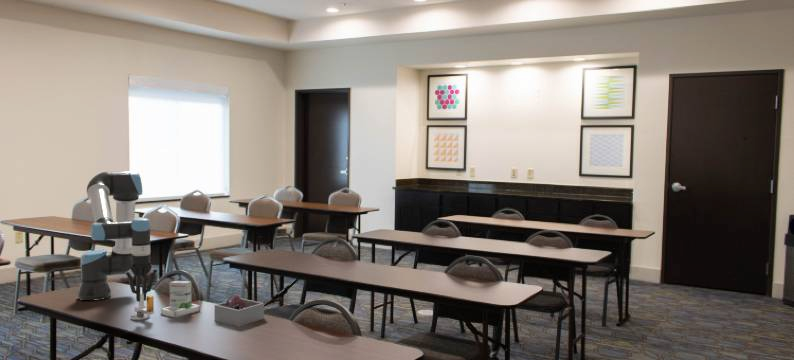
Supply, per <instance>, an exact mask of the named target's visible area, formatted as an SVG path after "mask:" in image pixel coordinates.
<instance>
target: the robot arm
mask: <svg viewBox="0 0 794 360" xmlns="http://www.w3.org/2000/svg"><path fill="white" fill-rule="evenodd" d="M141 178H142V177H141V175H140V173H139V172H137V171H103V172H100V173H98V174H96V175H95V176H93V177H92V178H91V179H90V180H89V182H88V183H87V186H86V194H87V197H88V198H89V200H90V204H91V210H92V216H93V220H94V222H93V223H91V225H90V237H91V239H92V240H93V241H110V240H114V241H115V245H114V246H112V248H111V251H107V249H95V250H89V251H86V252H85V253H82V255H81V259H80V265H81V266H80V268H81V269H80V272H81V274H80V276H81V277H80V278H81V279H80V282H81V283H80V286H79V289H78V292H77V300H78V299H82V300H94V299H102V298H107V297H109V296H111V297H112V290H111V288H110V285H109V283H108V282H109V281H108V276H118V275H120V276H121V275H126V277H127V280H128V284H129V287H130V291H131V293H133V294H135V298H136V299H135V300H136V302H138V307H139V309H144V306H145V303H144V302H145V301H146V302H147V293H149V292H151V291H152V286H153V284H154V283H153V282H154V279H155V275H156V273H157V271H158V270H157V269H156V268H153V267H152V265H151V221H150V219H149V218H146V217H145V218H143V217H142V218H141V217H140V218H135V217H136V202H137V201H138V200H139V197H140V196H141V195H143V185H142V179H141ZM111 196H112V199H113V201H115V202H116V204H115V206H116V207H115V208H116V210H115V221H114V218H113V212H112V208H111V207H112V206H111V203H110V199H109V197H111ZM148 273H150V274H149V277H147V276H148ZM133 274H134V275H135V283H134V280H133V276H132V275H133ZM147 278H148V279H147ZM147 280H148V281H147ZM109 298H110V297H109ZM107 299H108V298H107Z"/></svg>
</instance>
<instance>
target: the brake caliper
mask: <svg viewBox="0 0 794 360" xmlns="http://www.w3.org/2000/svg"><path fill="white" fill-rule="evenodd" d="M240 298H241V297H240V296H239V295H237V294H235V295H234V296H233V297H232V299H231V300H230V299H229V298H225V300H224V301H223V303H224V304H225V305H226V307H228V308H232V309H237V310H240V309H244V308H246V304H245V303H244V301H242V300H241V299H240ZM238 300H239V301H238ZM229 301H231V302H229ZM233 301H234V303H233ZM238 304H241V305H242V306H241V307H240V308H239V305H238Z"/></svg>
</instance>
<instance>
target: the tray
mask: <svg viewBox="0 0 794 360" xmlns="http://www.w3.org/2000/svg"><path fill="white" fill-rule="evenodd" d="M200 311H201V305H200V304H195V303H192V306H191V307H189V308H187V309H185V308H170V305H169V306H167V307H162V308H160V315H164V316H166V317H171V318H175V319H176V318H179V317H183V316H187V315H191V314H194V313H197V312H200ZM190 313H191V314H190Z"/></svg>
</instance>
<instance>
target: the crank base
mask: <svg viewBox="0 0 794 360" xmlns="http://www.w3.org/2000/svg"><path fill="white" fill-rule="evenodd" d="M148 319H151V314H150V315H148V314H145V313H142V312H136V313H135V314H132V315H130V320H131V321H145V320H148Z"/></svg>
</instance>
